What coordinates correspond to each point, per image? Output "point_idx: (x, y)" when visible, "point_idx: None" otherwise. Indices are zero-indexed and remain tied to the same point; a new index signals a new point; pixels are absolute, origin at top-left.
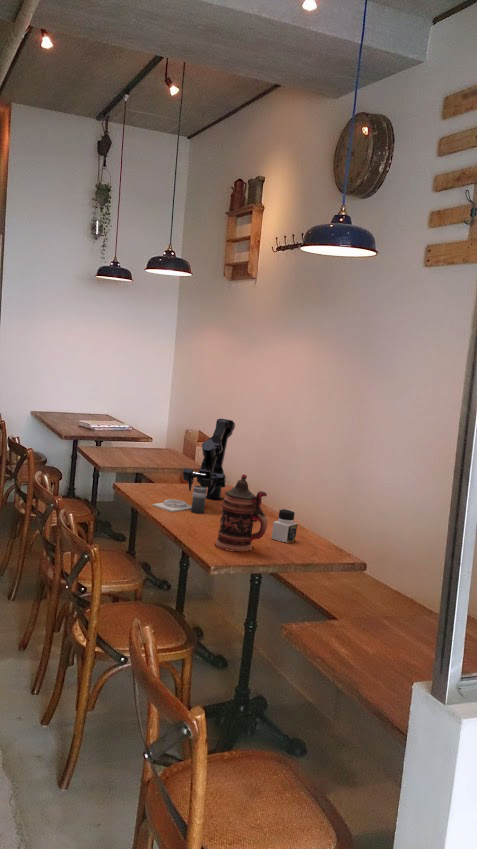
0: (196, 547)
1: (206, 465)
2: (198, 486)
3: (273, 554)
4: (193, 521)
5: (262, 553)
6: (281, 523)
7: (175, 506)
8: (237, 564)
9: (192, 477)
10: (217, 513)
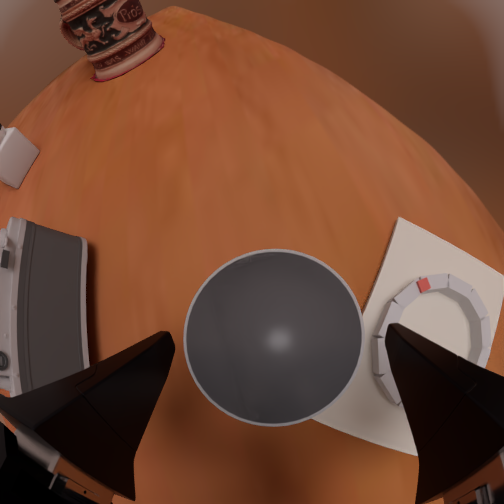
0: (197, 19)
1: None
2: (306, 360)
3: (72, 79)
4: (248, 138)
5: (87, 69)
6: (7, 128)
7: (413, 280)
8: None
9: (452, 501)
10: (173, 380)
